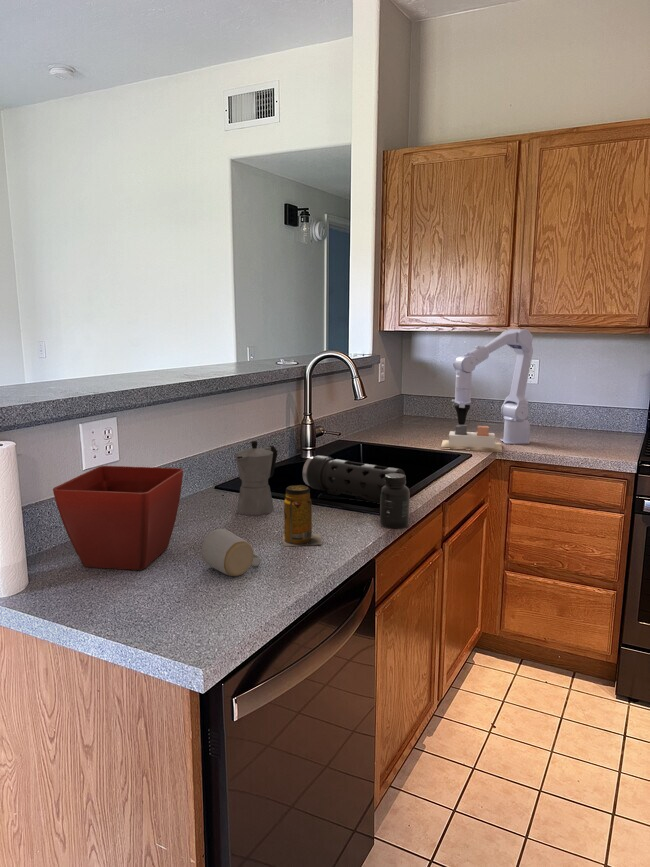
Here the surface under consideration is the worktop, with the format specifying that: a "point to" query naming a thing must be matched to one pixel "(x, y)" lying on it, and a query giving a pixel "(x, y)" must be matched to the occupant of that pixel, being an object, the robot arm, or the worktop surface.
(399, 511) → the supplement bottle
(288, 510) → the condiment
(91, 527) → the plant pot
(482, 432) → the terracotta plunger
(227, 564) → the ceramic mug
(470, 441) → the plunger panel
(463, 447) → the birch board
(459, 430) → the grey cube
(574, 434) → the worktop surface
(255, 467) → the coffeepot
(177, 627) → the worktop surface
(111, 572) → the worktop surface
